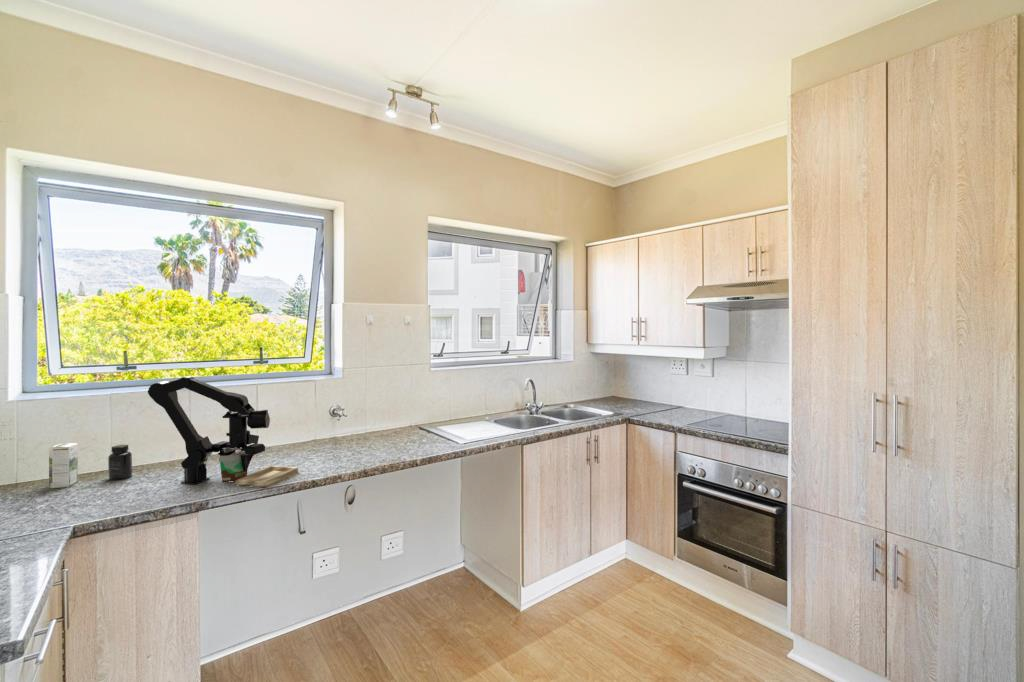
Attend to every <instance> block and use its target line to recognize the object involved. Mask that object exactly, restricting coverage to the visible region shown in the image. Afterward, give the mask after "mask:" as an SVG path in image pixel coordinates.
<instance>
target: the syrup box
mask: <svg viewBox="0 0 1024 682" xmlns="http://www.w3.org/2000/svg"><path fill="white" fill-rule="evenodd" d="M78 447H79V445H78V443H77V442H75V443H74V442H68V443H67V442H66V443H65V442H64V443H58V444H55V445H52V446H51V447H49V448H48V474H49V475H48V489H58V488H69V487H71V486H74V485H75V484H76V483H78V476H79V475H78V466H79V465H78V462H79V461H78Z"/></svg>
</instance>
